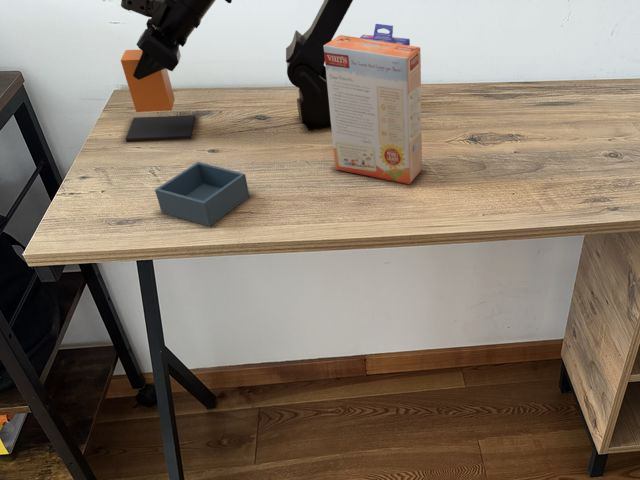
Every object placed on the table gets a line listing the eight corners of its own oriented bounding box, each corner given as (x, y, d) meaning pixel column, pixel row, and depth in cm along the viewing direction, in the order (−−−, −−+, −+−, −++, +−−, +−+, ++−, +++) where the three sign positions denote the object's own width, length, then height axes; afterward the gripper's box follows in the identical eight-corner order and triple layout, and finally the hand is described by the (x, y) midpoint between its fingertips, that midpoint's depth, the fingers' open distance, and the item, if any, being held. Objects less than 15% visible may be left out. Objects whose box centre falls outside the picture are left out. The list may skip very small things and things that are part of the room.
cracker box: (423, 170, 118) (422, 45, 104) (409, 186, 114) (407, 58, 100) (349, 155, 121) (340, 32, 107) (334, 170, 117) (321, 43, 103)
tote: (203, 184, 112) (198, 161, 109) (249, 196, 110) (245, 173, 107) (161, 212, 105) (154, 189, 102) (209, 226, 103) (204, 203, 100)
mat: (195, 118, 130) (194, 115, 130) (190, 138, 124) (190, 135, 123) (134, 120, 128) (133, 117, 128) (126, 141, 122) (125, 138, 121)
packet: (174, 99, 125) (161, 48, 119) (171, 110, 122) (158, 58, 116) (140, 100, 124) (125, 49, 118) (136, 112, 121) (120, 60, 115)
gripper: (151, -51, 115) (103, 21, 121) (133, -20, 102) (80, 58, 107) (210, -1, 122) (161, 64, 127) (201, 34, 108) (147, 105, 114)
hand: (138, 71), depth 119 cm, fingers closed on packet, 5 cm apart
